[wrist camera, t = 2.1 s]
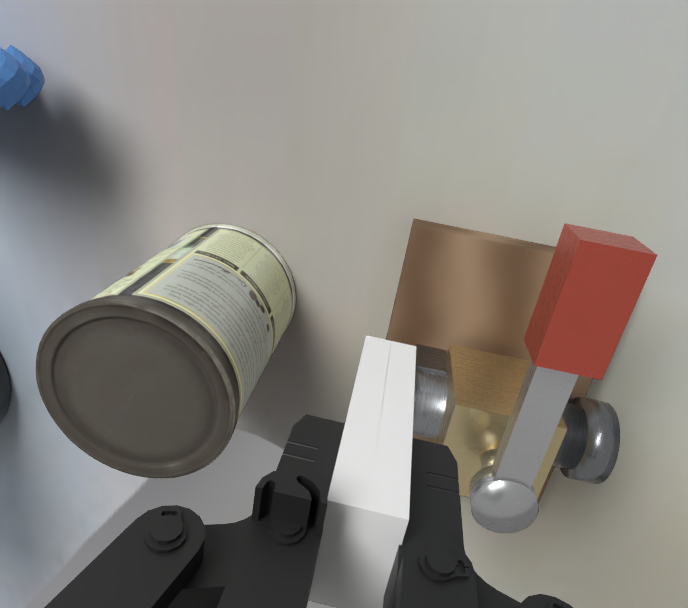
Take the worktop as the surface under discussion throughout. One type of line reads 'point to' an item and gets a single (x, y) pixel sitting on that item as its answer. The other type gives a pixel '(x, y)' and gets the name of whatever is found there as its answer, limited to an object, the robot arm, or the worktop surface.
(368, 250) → the worktop surface
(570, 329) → the valve lever
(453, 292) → the base board
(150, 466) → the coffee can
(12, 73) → the grapes
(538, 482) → the valve body
